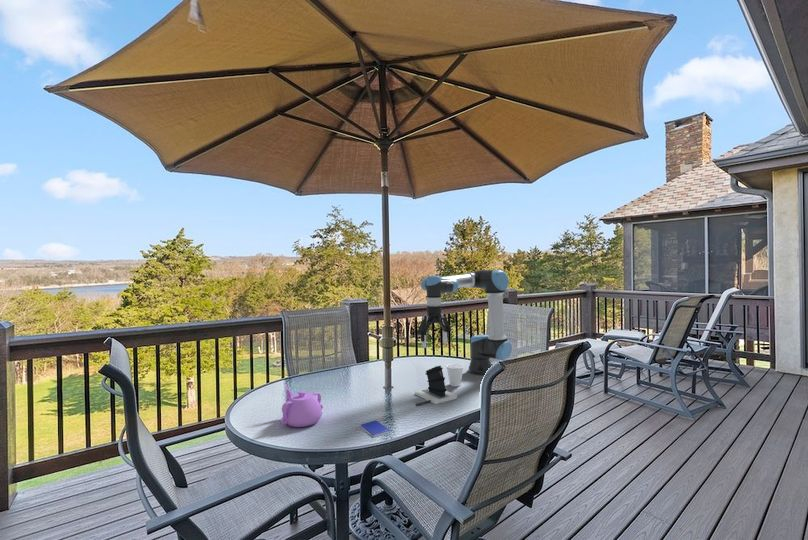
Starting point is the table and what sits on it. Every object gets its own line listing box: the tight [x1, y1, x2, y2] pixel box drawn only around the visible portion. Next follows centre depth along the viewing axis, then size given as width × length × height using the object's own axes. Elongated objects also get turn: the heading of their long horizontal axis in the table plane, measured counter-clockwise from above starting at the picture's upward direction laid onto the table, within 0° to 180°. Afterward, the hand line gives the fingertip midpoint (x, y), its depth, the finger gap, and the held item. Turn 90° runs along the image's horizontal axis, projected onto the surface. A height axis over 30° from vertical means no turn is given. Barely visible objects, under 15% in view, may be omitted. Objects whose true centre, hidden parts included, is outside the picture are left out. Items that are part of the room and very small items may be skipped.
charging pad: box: [414, 387, 458, 406], centre depth 205 cm, size 23×18×2 cm
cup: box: [446, 363, 465, 387], centre depth 225 cm, size 10×10×11 cm
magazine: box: [424, 365, 447, 397], centre depth 207 cm, size 4×13×15 cm, turn 32°
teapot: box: [280, 386, 324, 428], centre depth 179 cm, size 22×22×14 cm
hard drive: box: [359, 420, 392, 438], centre depth 168 cm, size 2×8×12 cm
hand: (434, 345), depth 206 cm, fingers open, 13 cm apart
